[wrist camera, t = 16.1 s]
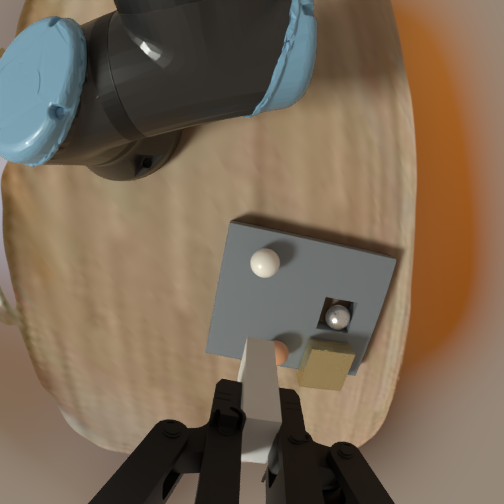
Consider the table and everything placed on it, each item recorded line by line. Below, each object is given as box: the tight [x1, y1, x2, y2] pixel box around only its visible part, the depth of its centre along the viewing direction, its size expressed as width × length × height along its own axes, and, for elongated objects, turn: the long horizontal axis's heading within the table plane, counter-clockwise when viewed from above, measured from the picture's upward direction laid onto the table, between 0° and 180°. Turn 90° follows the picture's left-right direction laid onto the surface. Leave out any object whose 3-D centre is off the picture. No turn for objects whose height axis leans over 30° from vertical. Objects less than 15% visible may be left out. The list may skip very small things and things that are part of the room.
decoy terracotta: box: [274, 340, 289, 366], centre depth 39 cm, size 3×3×3 cm
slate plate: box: [206, 220, 397, 376], centre depth 41 cm, size 22×18×2 cm
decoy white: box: [250, 248, 280, 278], centre depth 37 cm, size 3×3×3 cm
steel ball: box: [326, 305, 350, 330], centre depth 41 cm, size 3×3×3 cm
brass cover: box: [297, 338, 355, 391], centre depth 40 cm, size 6×6×3 cm
